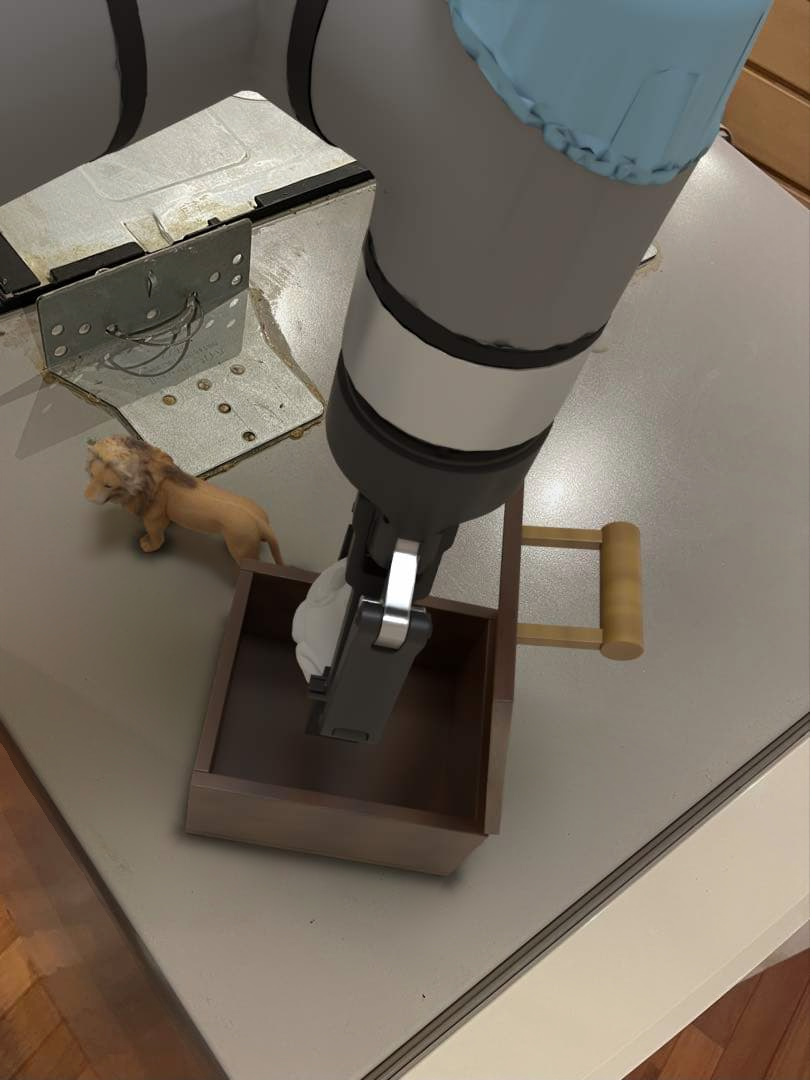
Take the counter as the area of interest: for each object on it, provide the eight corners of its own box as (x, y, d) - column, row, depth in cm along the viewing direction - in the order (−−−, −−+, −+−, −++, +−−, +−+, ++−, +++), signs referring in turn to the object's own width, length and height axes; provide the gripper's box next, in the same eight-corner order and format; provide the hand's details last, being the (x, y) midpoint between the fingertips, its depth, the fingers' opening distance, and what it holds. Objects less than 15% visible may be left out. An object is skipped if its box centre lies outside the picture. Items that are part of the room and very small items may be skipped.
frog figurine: (403, 615, 54) (433, 549, 48) (394, 736, 50) (425, 680, 44) (293, 597, 53) (310, 528, 47) (275, 718, 49) (291, 660, 44)
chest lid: (492, 701, 37) (656, 713, 37) (509, 424, 45) (646, 432, 44) (483, 834, 51) (603, 845, 51) (498, 605, 59) (602, 613, 58)
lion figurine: (76, 551, 65) (66, 472, 57) (104, 487, 68) (98, 404, 60) (294, 609, 66) (312, 539, 58) (312, 543, 69) (332, 469, 61)
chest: (184, 832, 57) (189, 785, 50) (232, 625, 64) (242, 557, 57) (447, 876, 59) (489, 837, 51) (463, 670, 66) (502, 609, 59)
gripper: (555, 664, 27) (391, 867, 46) (566, 203, 38) (430, 520, 57) (289, 612, 27) (233, 841, 46) (378, 155, 37) (302, 493, 56)
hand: (343, 662), depth 51 cm, fingers closed on frog figurine, 7 cm apart
